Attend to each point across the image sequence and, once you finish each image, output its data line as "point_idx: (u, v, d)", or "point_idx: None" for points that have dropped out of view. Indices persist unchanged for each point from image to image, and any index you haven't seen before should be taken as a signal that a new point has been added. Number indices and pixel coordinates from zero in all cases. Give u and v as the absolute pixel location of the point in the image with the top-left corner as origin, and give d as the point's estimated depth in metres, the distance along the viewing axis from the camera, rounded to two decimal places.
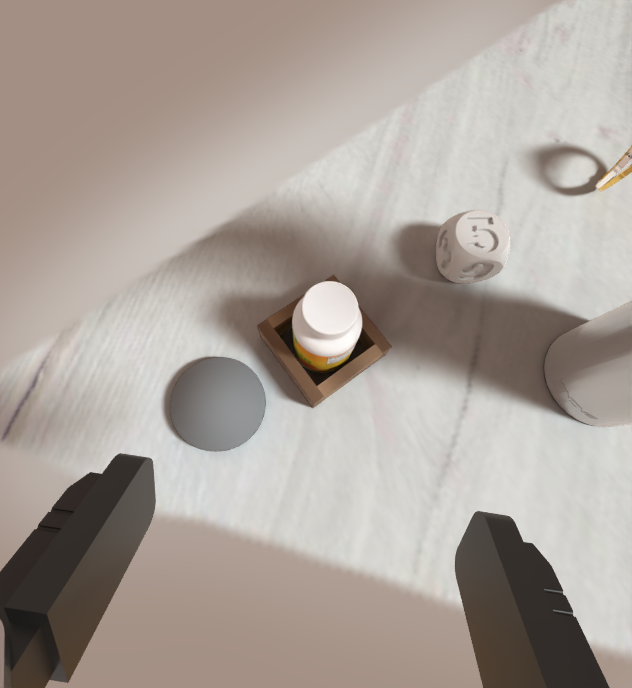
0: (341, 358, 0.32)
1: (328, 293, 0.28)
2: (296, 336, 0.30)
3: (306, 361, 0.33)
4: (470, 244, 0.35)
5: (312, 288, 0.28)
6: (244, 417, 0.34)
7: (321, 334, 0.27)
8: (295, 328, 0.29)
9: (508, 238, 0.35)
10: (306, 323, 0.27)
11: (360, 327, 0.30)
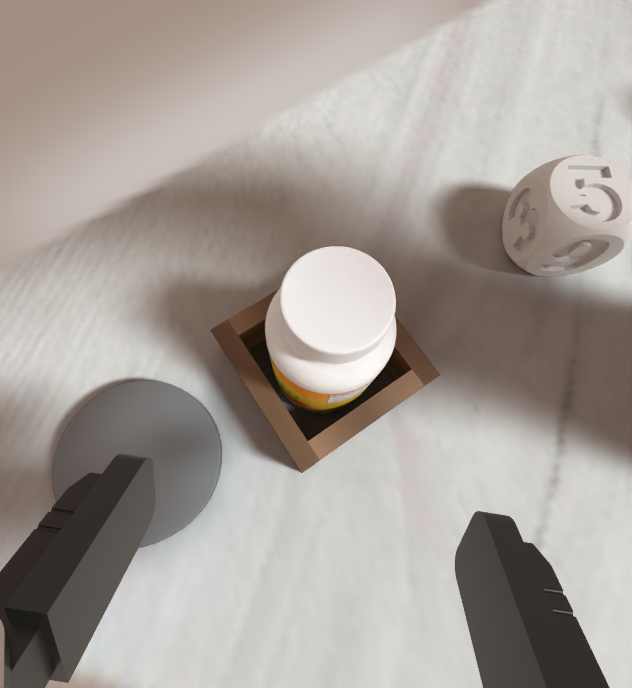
0: (353, 394, 0.18)
1: (335, 269, 0.14)
2: (271, 353, 0.16)
3: (291, 395, 0.19)
4: (574, 208, 0.21)
5: (303, 258, 0.14)
6: (181, 488, 0.19)
7: (317, 353, 0.13)
8: (269, 338, 0.15)
9: None
10: (288, 329, 0.13)
11: (393, 340, 0.16)
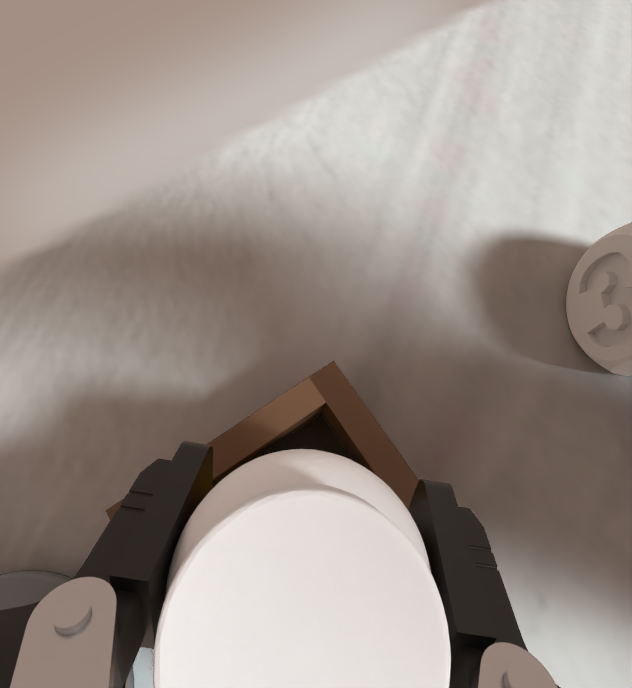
0: None
1: (299, 562, 0.06)
2: None
3: None
4: None
5: (221, 532, 0.06)
6: None
7: None
8: None
9: None
10: None
11: None
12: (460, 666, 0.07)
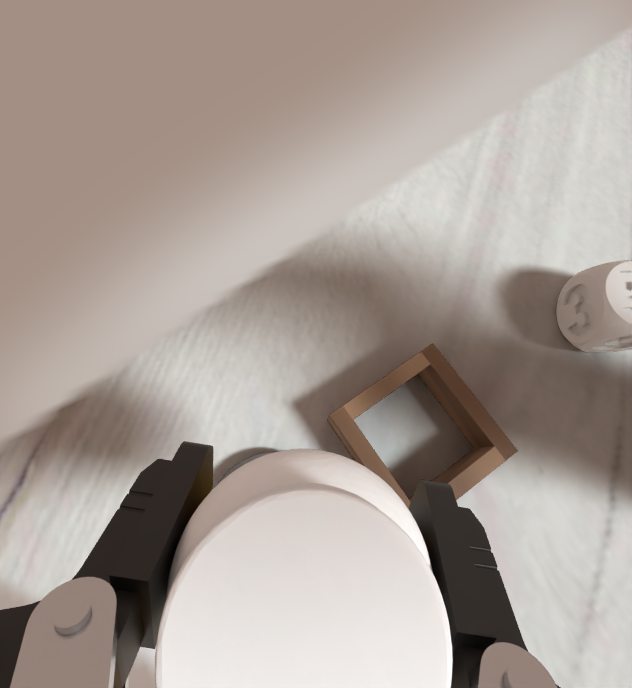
0: None
1: (301, 562, 0.06)
2: None
3: None
4: (625, 308, 0.25)
5: (223, 531, 0.06)
6: None
7: None
8: None
9: None
10: None
11: None
12: (460, 666, 0.07)
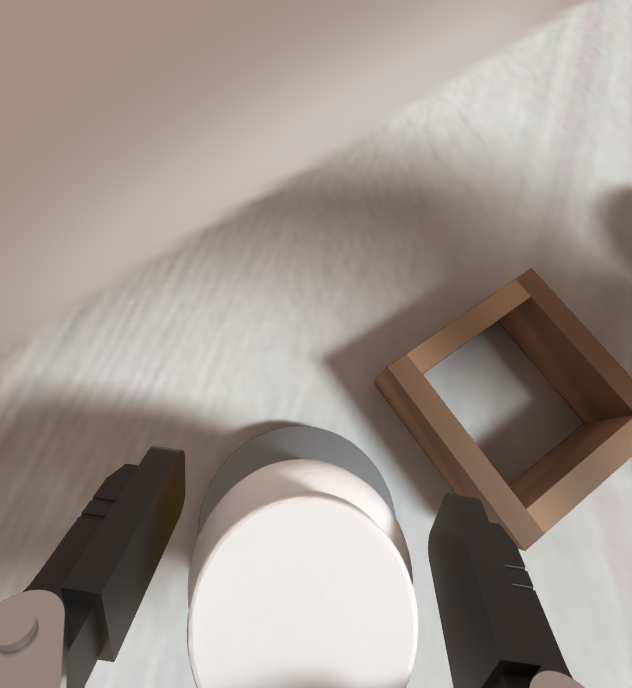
0: None
1: (300, 554, 0.07)
2: None
3: None
4: None
5: (238, 530, 0.07)
6: None
7: None
8: None
9: None
10: None
11: None
12: None
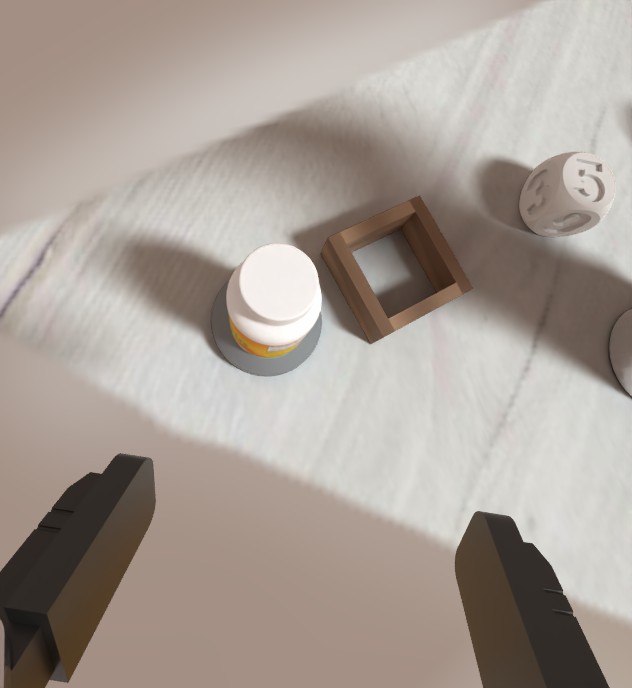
0: (287, 347, 0.24)
1: (280, 261, 0.20)
2: (229, 311, 0.22)
3: (242, 342, 0.25)
4: (574, 189, 0.31)
5: (258, 250, 0.19)
6: None
7: (261, 317, 0.19)
8: (229, 301, 0.21)
9: (614, 191, 0.31)
10: (242, 299, 0.19)
11: (317, 313, 0.22)
12: None
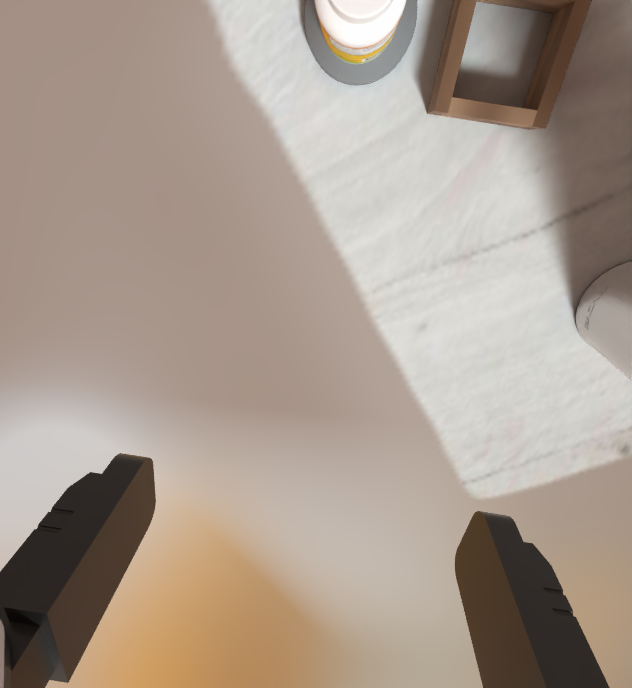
0: (346, 51, 0.26)
1: None
2: None
3: None
4: None
5: None
6: None
7: None
8: None
9: None
10: None
11: (382, 33, 0.23)
12: None
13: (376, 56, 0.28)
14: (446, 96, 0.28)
